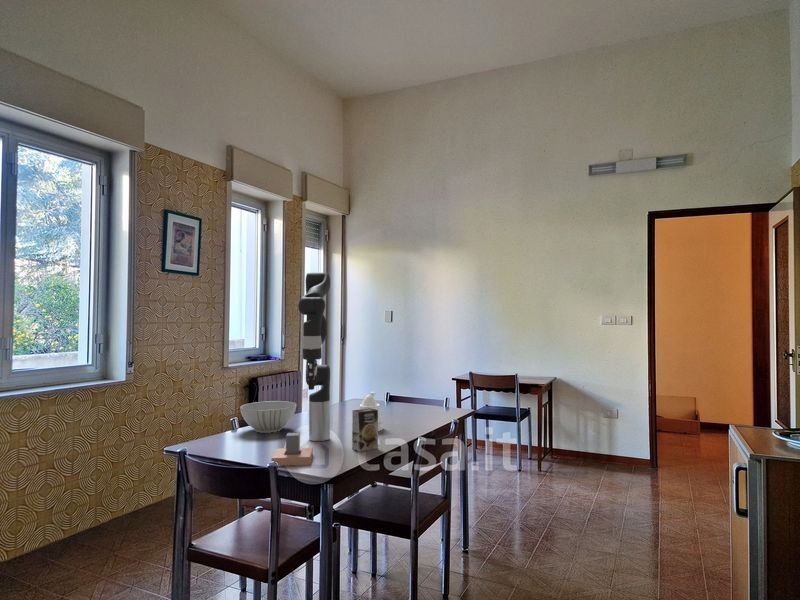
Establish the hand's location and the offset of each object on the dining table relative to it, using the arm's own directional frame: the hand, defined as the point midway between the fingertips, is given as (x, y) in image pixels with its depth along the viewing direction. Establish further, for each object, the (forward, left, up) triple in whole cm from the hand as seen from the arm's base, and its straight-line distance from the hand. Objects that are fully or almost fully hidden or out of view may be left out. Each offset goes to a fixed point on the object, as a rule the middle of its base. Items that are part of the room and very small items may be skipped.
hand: (312, 387), depth 205 cm
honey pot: (-45, +24, -27) cm, 58 cm away
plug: (+7, -7, -27) cm, 28 cm away
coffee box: (-7, +21, -27) cm, 35 cm away
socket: (+7, -7, -27) cm, 28 cm away
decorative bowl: (-49, -25, -27) cm, 61 cm away
